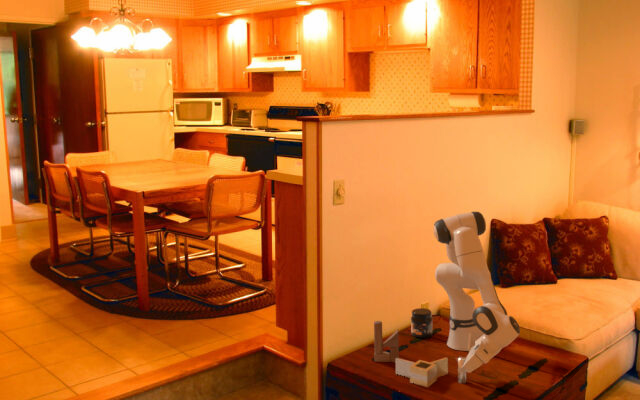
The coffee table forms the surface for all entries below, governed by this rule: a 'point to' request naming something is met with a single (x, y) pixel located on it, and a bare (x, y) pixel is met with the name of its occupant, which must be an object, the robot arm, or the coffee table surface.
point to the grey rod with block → (385, 345)
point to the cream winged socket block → (422, 370)
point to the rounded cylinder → (463, 375)
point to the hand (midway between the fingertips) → (461, 367)
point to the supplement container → (421, 323)
